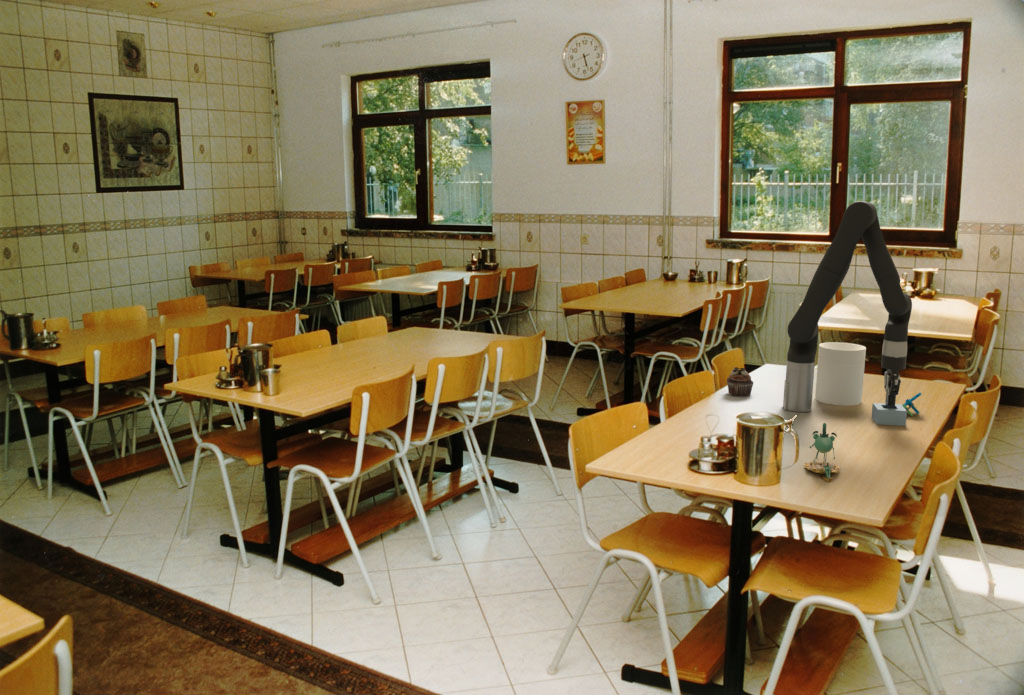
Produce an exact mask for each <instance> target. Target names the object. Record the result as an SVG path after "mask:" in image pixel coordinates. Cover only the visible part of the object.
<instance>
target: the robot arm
mask: <svg viewBox="0 0 1024 695" xmlns="http://www.w3.org/2000/svg"><path fill="white" fill-rule="evenodd" d="M881 229H882V228H881V225H880V220H879V216H878V211H877V208H876V207H875V205H874V204H873V203H871V202H870V201H867V200H866V201H865V200H858V201H857V200H856V201H853V202H852V203H850V204H849V205H848V206H847V207H846V209H845V211H844V213H843V216H842V218H841V221H840V224H839V227H838V229H837V232H836V235H835V237H834V238H833V240H832V242H831V243H830V245H829V247H828V248H827V250H826V251H825V253H824V255H823V257H822V259H821V260H820V263H819V265H818V266H817V268H816V269H815V272H814V275H813V277H812V279H811V281H810V284H809V286H808V289H807V291H806V293H805V296H804V298H803V301H802V303H801V304H800V306H799V307H798V309H797V311H796V312H795V314H794V315H793V316H792V318H791V320H790V321H789V322H788V325H787V336H788V337H789V346H788V351H787V353H786V368H785V370H786V371H785V380H784V386H783V400H782V401H783V403H782V406H783V408H784V409H783V410H784V411H788V412H789V411H790V412H797V413H806V412H811V411H812V405H813V391H814V380H815V379H814V378H815V377H814V375H815V366H816V365H815V364H816V355H817V350H818V338H819V320H820V319H821V316H822V314H823V313H824V310H825V308H826V307H827V305H828V304H829V303H830V302H831V300H832V299H833V298H834V296H835V295H836V294H837V292H838V291H839V289H840V287H841V285H842V283H843V282H844V280H845V277H846V276H847V274H848V272H849V269H850V266H851V263H852V259H853V258H854V257H853V256H854V253H855V249H856V247H857V245H858V243H859V242H860V240H862V242H863V245H864V248H865V250H866V254H867V259H868V262H869V266H870V269H871V272H872V274H873V277H874V279H875V282H876V284H877V286H878V289H879V293H880V296H881V300H882V304H883V306H884V308H885V310H886V311H887V313H888V318H887V322H886V324H885V327H884V333H883V334H884V335H883V343H882V351H881V361H880V362H881V363H880V367H881V368H882V369H885V370H886V371H884V372H883V374H884V375H883V377H884V383H883V384H884V390H885V392H886V391H887V388H888V404H887V405H888V406H895V404H896V402H895V399H896V398H897V396H898V395H899V392H900V387H901V383H902V381H901V374H899V373H900V372H899V371H900V370H905V369H906V367H907V355H908V334H909V322H910V318H911V315H912V308H913V302H912V298H911V297H910V296H909V294H907V293H905V292H904V290H903V289H902V287H901V286H902V285H901V277H900V274H899V272H898V270H897V267H896V264H895V262H894V260H893V258H892V256H891V254H890V251H889V248H888V247H887V244H886V241H885V239H884V235H883V233H882V230H881ZM890 385H891V386H890ZM893 389H895V391H892V390H893ZM884 402H885V403H886V398H885V401H884Z"/></svg>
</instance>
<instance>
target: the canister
mask: <svg viewBox="0 0 1024 695" xmlns="http://www.w3.org/2000/svg"><path fill="white" fill-rule="evenodd" d="M866 351H867V347H866V346H865V345H862V344H857V343H851V342H841V341H840V342H839V341H838V342H837V341H836V342H835V341H834V342H830V341H829V342H822V343H819V344H818V358H817V366H816V367H817V369H816V378H815V379H816V383H815V392H814V393H815V395H814V396H815V397H814V398H815V400H816V401H817V402H819V403H822V404H823V403H824V404H827V405H833V406H834V405H835V406H843V407H845V406H849V405H850V406H858V405H860V404H862V402H863V401H862V400H863V392H864V391H863V389H864V377H865V364H866V362H865V361H866V354H867V352H866Z"/></svg>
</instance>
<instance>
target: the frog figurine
mask: <svg viewBox="0 0 1024 695" xmlns="http://www.w3.org/2000/svg"><path fill="white" fill-rule="evenodd" d="M830 434H831V435H830ZM830 434H829V433H827V423H825V422H824V423H822V432H821V433H819V431H818V430H815V431H813V432H812V435H813V436H812V438H813V439H814V442H813V443H812V445H810V446H809V447H808V448H809V449H812V448H813V447H814V448H815V450H816V456H815V457H814V459H813V460H812V461H810V462H805V463H804V464H803V467H804V468H805V469H806V470H807V471H808V470H809V471H811V472H813V473H817V474H825V475H824V476H822V479H824V481H825V482H827V483H830V482H833V479H834V477H831V474H832V473H833V474H838V473H839V472H840V471H841V467H840V466H838V464H836V463H832V462H828V461H827V458H826V457H827V455H828V454H827V453H829V452H831V450H833V451H832V452H833V454H835V448H834V441H835V438H837V436H838V434H836V433H835V432H831V433H830ZM820 453H821V454H823V459H824V461H819V460H818V458H819V457H818V455H819V454H820ZM835 459H836V457H835V456H833V460H835Z"/></svg>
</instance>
